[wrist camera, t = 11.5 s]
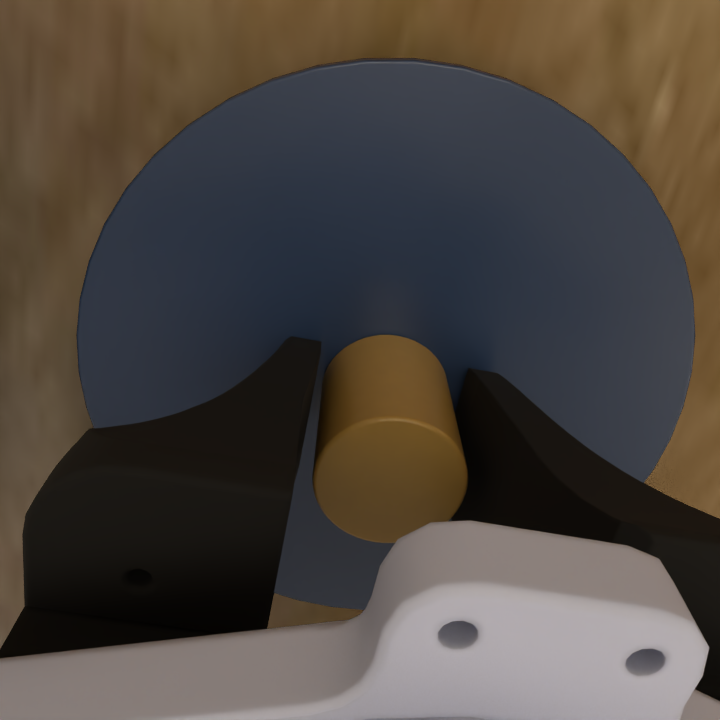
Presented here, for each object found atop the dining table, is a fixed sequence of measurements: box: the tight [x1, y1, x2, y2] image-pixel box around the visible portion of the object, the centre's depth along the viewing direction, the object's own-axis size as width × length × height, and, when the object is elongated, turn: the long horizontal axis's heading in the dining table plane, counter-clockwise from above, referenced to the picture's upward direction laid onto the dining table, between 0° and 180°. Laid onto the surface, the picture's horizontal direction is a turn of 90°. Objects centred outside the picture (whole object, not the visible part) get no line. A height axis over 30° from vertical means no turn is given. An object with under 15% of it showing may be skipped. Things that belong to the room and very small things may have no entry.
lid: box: [77, 58, 695, 610], centre depth 13 cm, size 13×13×4 cm
